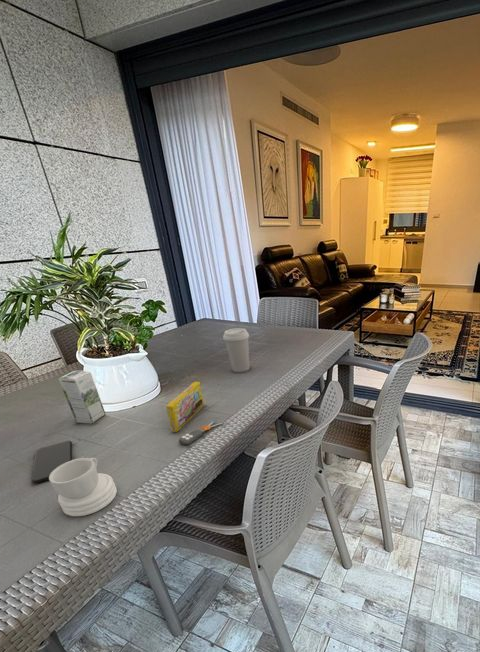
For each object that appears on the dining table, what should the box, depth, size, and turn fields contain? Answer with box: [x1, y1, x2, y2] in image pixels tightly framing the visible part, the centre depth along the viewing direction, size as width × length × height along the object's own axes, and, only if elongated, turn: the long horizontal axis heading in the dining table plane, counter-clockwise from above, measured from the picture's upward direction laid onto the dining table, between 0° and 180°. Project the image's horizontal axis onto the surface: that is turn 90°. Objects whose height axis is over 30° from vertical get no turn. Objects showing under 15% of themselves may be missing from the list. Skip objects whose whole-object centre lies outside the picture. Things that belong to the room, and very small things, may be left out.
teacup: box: [48, 457, 99, 499], centre depth 71 cm, size 10×8×5 cm
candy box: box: [165, 381, 205, 433], centre depth 102 cm, size 16×2×8 cm, turn 170°
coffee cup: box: [222, 327, 251, 373], centre depth 133 cm, size 10×10×15 cm
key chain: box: [178, 421, 224, 446], centre depth 96 cm, size 13×4×2 cm, turn 149°
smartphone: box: [31, 440, 73, 484], centre depth 87 cm, size 8×1×16 cm
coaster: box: [57, 472, 118, 517], centre depth 74 cm, size 10×10×4 cm
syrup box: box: [58, 370, 106, 425], centre depth 102 cm, size 6×6×14 cm
